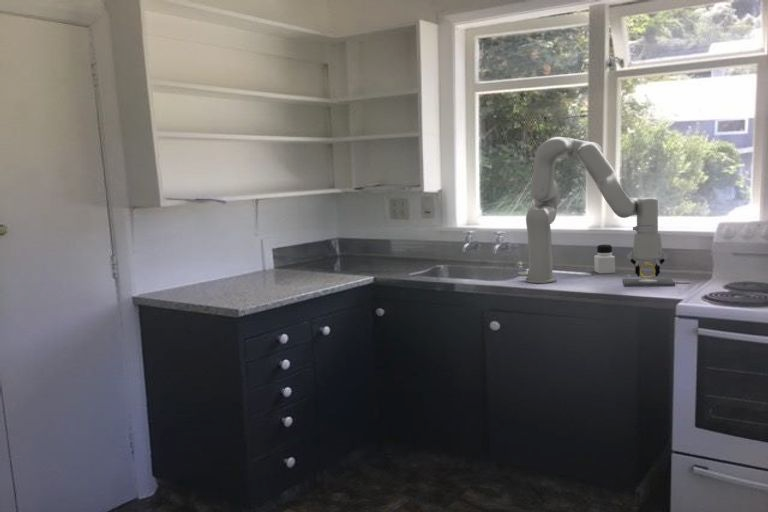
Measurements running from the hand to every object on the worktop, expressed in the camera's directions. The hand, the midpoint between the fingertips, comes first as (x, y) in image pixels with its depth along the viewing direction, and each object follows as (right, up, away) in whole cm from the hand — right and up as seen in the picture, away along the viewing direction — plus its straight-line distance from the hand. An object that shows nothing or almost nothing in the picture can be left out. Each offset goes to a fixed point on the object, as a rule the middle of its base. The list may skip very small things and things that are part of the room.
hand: (647, 275), depth 264 cm
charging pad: (+3, -3, -1) cm, 5 cm away
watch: (0, -1, 0) cm, 1 cm away
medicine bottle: (-6, 0, +33) cm, 34 cm away
